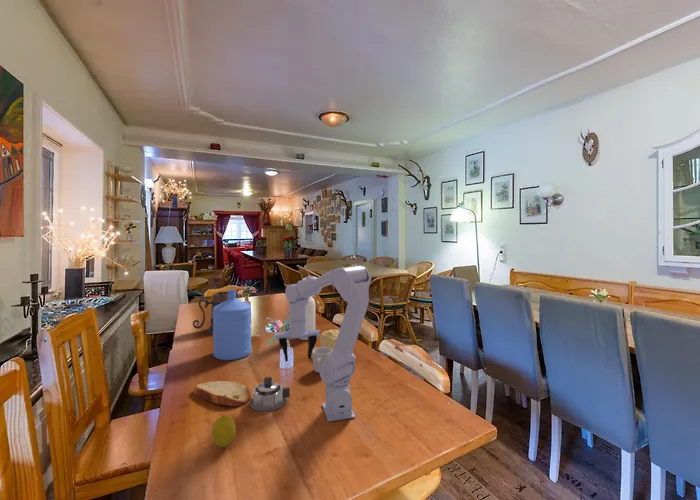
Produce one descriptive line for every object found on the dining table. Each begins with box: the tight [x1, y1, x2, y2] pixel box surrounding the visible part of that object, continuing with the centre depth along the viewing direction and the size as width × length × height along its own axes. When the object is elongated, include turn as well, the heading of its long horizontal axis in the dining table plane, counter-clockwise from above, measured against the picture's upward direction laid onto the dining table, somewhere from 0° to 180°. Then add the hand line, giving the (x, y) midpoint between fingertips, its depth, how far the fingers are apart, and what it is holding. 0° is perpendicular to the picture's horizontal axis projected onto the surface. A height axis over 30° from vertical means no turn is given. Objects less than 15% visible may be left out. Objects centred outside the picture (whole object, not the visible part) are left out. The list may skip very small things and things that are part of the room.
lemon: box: [211, 414, 237, 448], centre depth 80 cm, size 6×6×8 cm
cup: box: [311, 346, 333, 374], centre depth 123 cm, size 11×8×8 cm
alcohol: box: [298, 277, 316, 341], centre depth 163 cm, size 9×9×30 cm
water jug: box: [212, 289, 252, 361], centre depth 141 cm, size 16×16×28 cm
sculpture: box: [319, 328, 340, 350], centre depth 142 cm, size 12×12×11 cm
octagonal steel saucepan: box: [252, 383, 291, 409], centre depth 102 cm, size 9×11×4 cm
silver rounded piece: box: [257, 376, 279, 396], centre depth 101 cm, size 7×7×7 cm
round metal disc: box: [249, 397, 287, 413], centre depth 102 cm, size 11×11×1 cm
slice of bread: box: [193, 380, 252, 408], centre depth 105 cm, size 18×18×4 cm
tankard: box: [192, 290, 228, 335], centre depth 174 cm, size 24×17×20 cm
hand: (297, 359), depth 110 cm, fingers open, 7 cm apart
